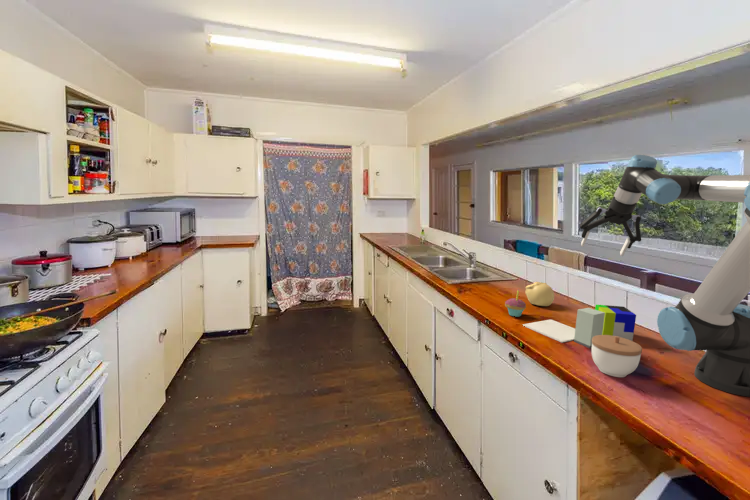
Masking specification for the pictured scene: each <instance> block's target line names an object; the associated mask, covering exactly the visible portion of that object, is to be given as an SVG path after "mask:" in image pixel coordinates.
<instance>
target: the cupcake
mask: <svg viewBox="0 0 750 500" xmlns="http://www.w3.org/2000/svg"><path fill="white" fill-rule="evenodd" d="M519 290H520V289H517V290H516V297H514V298H513V297H512V298H509V299H507V300H506V301H504V306H505V307H506V308H507V311H508V314H509V316H511V317H514V316H515V317H517V318H519V317H522V313H523V312H524V310H526V308H527V306H526V303H525V302H524V301H523V300H522V299H520V298H519V293H520V291H519ZM515 317H514V318H515Z"/></svg>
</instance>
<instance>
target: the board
mask: <svg viewBox="0 0 750 500" xmlns="http://www.w3.org/2000/svg"><path fill="white" fill-rule="evenodd" d="M522 325H523V326H522V327H524V326H525V327H524V328H527V329H530V330H532V331H534V332H536V333H538V334H541V335H543V336H545V337H548V338H550V339H552V340H555V341H558V342H560V343H566V342H572V341H574V336H575V328H576V327H572V326H569V325H567V324H564V323H562V322H559V321H556V320H554V319H552V318H551V319H546V320H541V321H534V322H533V321H532V322H529V323H524V324H522Z"/></svg>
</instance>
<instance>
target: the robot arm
mask: <svg viewBox="0 0 750 500" xmlns="http://www.w3.org/2000/svg"><path fill="white" fill-rule="evenodd" d="M657 165H658V161H657V159H656V158H654V157H653V156H649V155H645V154H635V155H633V156H632V157H631V158H630V160H629V162H628V163H627V165H626V167H625V170H624V172H623V174H622V177H621V179H620V181H619V184H618V186H617V187H616V190H615V192H614V194H613V197H612V199H611V201H610V203H609V206H608V207H607V208H603V207H602V206H601V205H600V206H599V205H598V206H597V208H596V209H595V211H594V212H593V213H591V214H590V215H589V216H588V217H587V218H585V219H584V220H583V221H582V222H581V223H580V224H579V227H580V229H582V232H581V238H582V240H581V242H580V246H581V248H582V247H583V248H584V246H585V245H586V242H587V240H588V238H589V235H590V233H591V232H590V231H591V230H593V229H595V228H597V227H599V226H600V225H603V224H606V223H608V222H609V224H615V225H622V226H623V228H624V230H625V231H626V233H627V237H626V239H625V241H624V244H623V245H622V247H621V249H620V251H619V254H620V257H623V256H624V255H625V252H627V249H632V246H633V245H634V244H635V243H636V242H641V241H642V234H641V227H640V223H641V219H642V218H641V214H637V213H636V214H633V213H634V210H635V209H636V206H637V203H639V200H640V198H641V196H642V194H643V195H645V196H646V197H647V198H648V199H649V200H651V201H653V202H655V203H656V204H659V205H667V204H669V203H673V202H674V201H677V200H686V201H687V200H691V201H712V202H724V203H725V202H727V203H744V205H745V207H746V208H745V209H744V211H743V213H744V216H745V218H746V221H745V223H744V224H743V226H741V228H740V230H739V231H738V233H736V235H735V236H734V238H733V240H732V241H731V242H730V243H729V244H728V246H727V248H726V249H725V251H724V252H723V253H722V254H721V256H720V257H719V259H718V260H717V262H716V263H715V264H714V265H713V267H711V269H710V271H709V272H708V274H706V276H705V278H704V279H703V281H702V282H701V283H700V285H699V286H698V288H697V289H696V290H695V292H694V293H687V294H685V295H684V296H683V297H682V298H681V299H680V300H679V301H678V303H677V304H676V305H675V306H667V307H664V308H662V309H661V310H660V311H659V313H658V315H657V318H656V322H657V328H658V332H659V334H660V336H661V338H662V340H663V341H664V342H665V343H666V344H667V345H668V346H669V347H671V348H673V349H677V350H679V351H680V350H681V351H687V352H692V351H705V353H704V354H703V355H702V357H701V359H700V360H699V361H698V363H697V364H696V366H695V369H694V377H695V378H696V379H698V380H699V382H701V383H703V384H705V385H706V386H709V387H712V388H714V389H717V390H720V391H722V392H726V393H728V394H733V395H737V396H743V397H749V398H750V306H749V305H746V304H742V303H741V302H742V301H743V300H744V299H745V297H746V296H747V295H749V293H750V174H743V175H742V174H735V175H734V174H732V175H730V174H728V175H727V174H723V175H721V174H720V175H719V174H718V175H682V174H665V173H661V172H660V171H659V170H657V169H656V168H657ZM603 214H604V215H603ZM600 215H603V216H602V217H600V218H598V217H599V216H600ZM597 218H598V219H597ZM596 219H597V220H596ZM631 219H632V221H633V222H634V230H635V236H634V234H633V232H632V230H631V228H630V226H629V223H628V221H630V220H631Z"/></svg>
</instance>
